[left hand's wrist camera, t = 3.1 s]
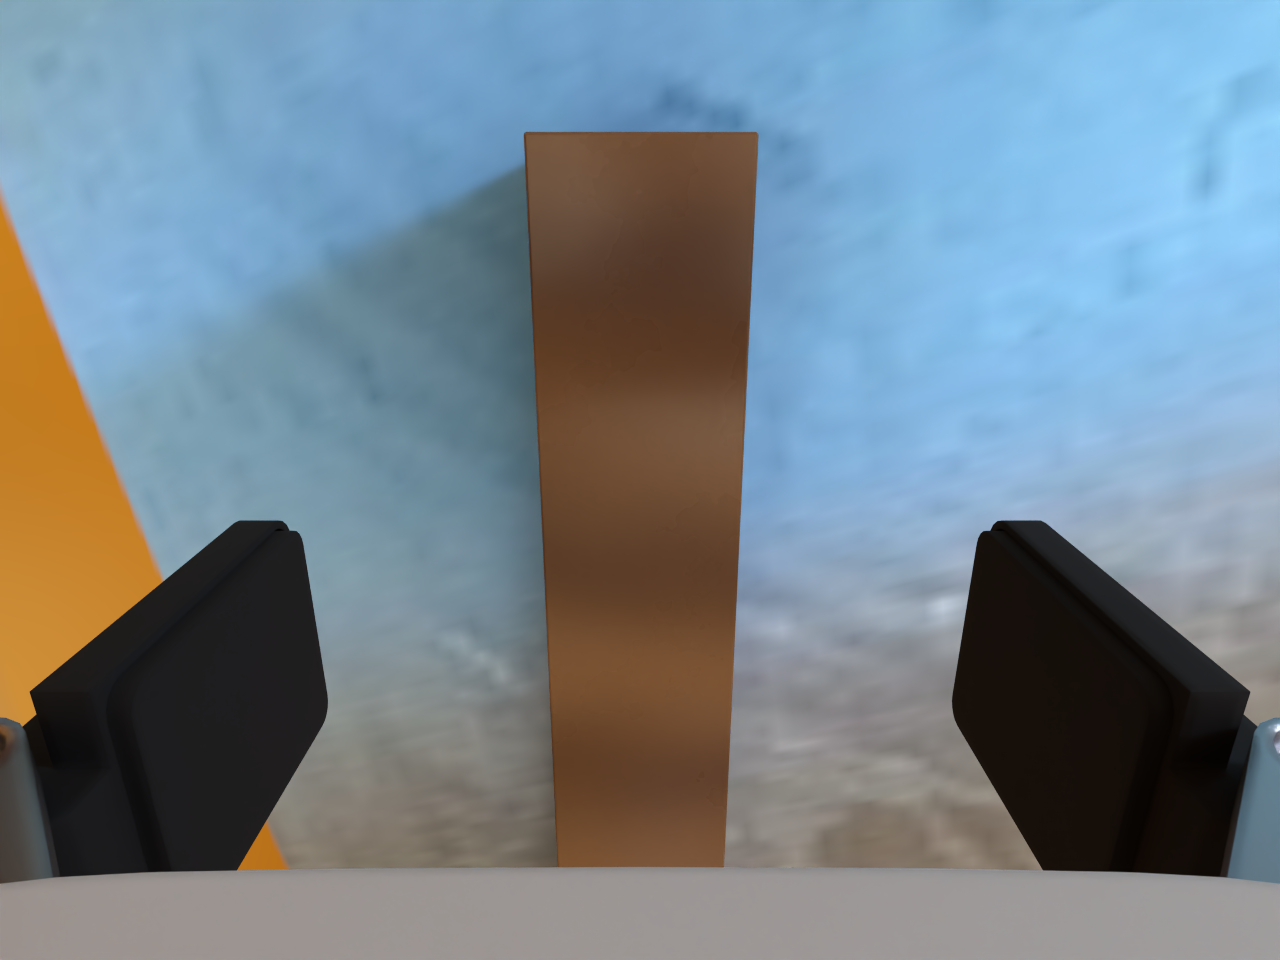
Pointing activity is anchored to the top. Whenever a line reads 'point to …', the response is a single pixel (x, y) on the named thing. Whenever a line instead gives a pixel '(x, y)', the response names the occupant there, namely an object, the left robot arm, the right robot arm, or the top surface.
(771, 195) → the top surface
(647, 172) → the bar
